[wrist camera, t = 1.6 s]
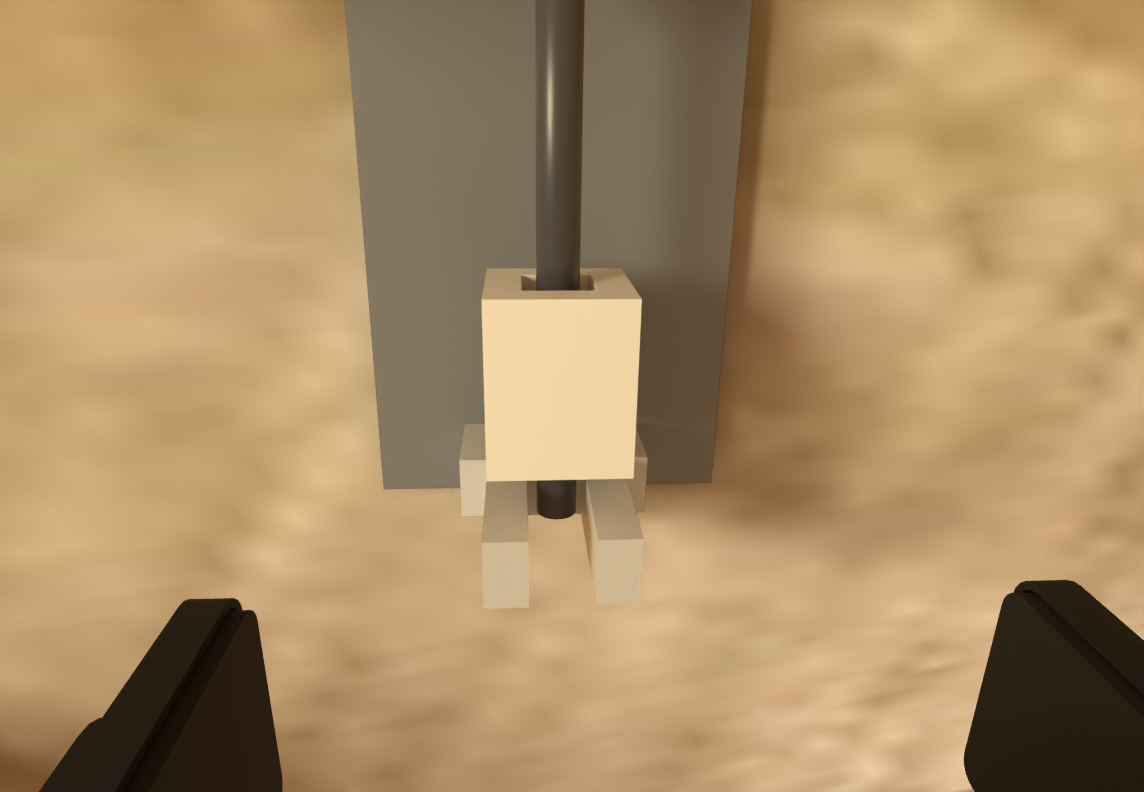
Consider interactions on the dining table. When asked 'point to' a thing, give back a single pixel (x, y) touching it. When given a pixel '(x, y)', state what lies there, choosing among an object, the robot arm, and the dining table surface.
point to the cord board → (546, 233)
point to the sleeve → (560, 376)
